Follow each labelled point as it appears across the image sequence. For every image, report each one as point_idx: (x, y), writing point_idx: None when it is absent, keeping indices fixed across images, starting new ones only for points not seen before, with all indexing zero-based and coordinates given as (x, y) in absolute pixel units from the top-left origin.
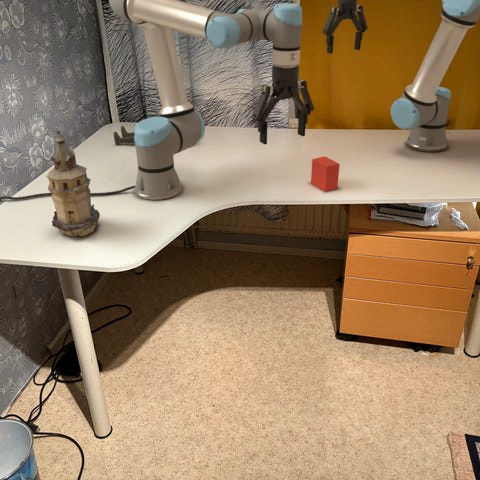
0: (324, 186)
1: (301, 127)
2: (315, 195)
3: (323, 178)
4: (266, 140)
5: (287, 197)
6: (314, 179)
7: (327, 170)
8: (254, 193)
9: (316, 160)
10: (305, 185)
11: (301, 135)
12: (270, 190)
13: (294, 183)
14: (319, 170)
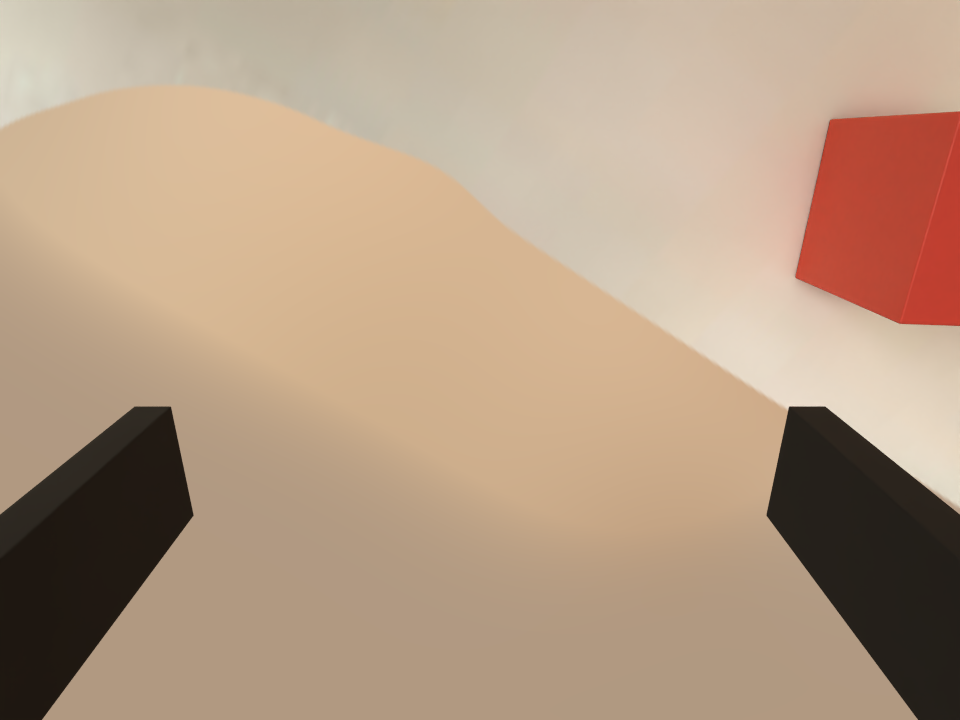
0: (813, 275)
1: (840, 553)
2: (714, 286)
3: (844, 270)
4: (161, 547)
5: (563, 220)
6: (844, 161)
7: (887, 315)
8: (420, 46)
9: (957, 164)
10: (778, 127)
11: (775, 490)
12: (538, 64)
13: (745, 53)
14: (884, 224)
